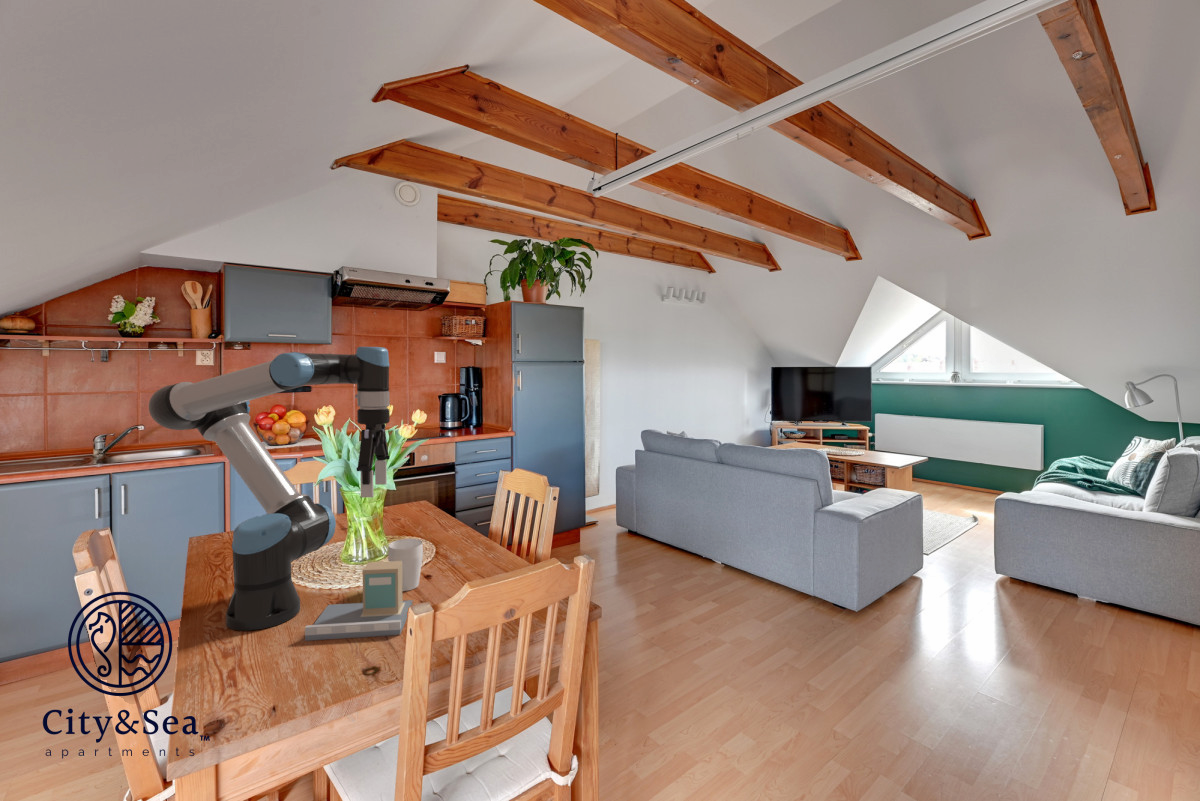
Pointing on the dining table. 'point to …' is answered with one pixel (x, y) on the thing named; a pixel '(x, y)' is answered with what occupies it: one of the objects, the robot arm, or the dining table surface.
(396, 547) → the cup
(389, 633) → the grey flat rectangular block
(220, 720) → the dining table surface
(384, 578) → the tea box
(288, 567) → the robot arm
